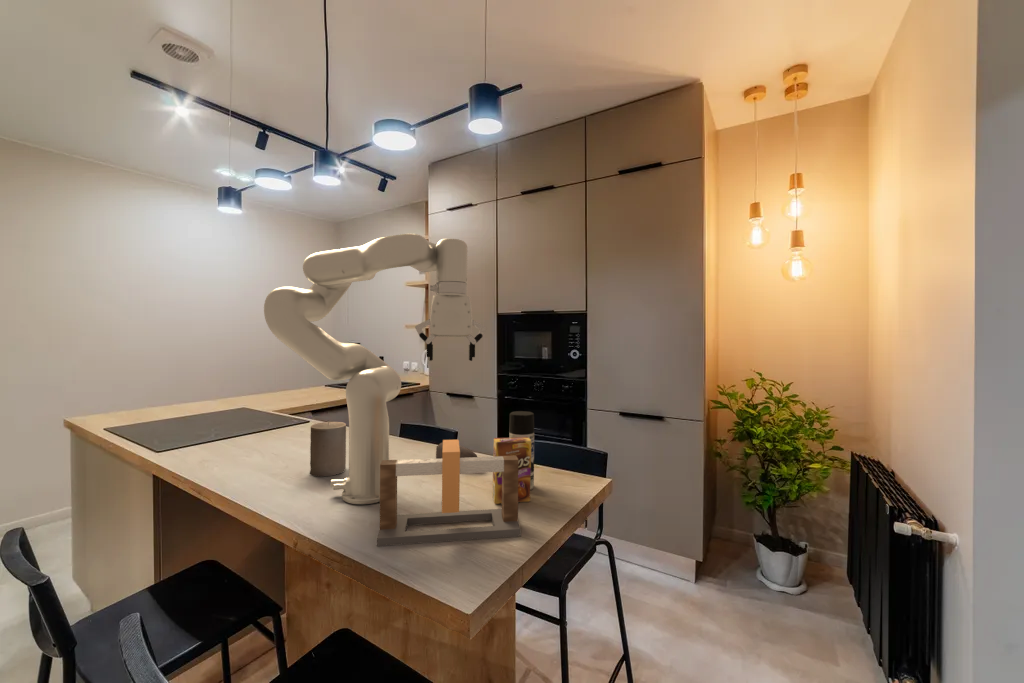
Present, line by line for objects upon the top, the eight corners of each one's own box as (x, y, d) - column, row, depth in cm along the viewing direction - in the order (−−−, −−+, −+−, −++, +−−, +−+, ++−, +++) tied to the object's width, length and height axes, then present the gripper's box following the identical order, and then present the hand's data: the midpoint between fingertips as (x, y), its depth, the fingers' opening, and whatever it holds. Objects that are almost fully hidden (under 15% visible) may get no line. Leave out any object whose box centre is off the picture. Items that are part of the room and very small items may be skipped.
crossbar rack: (376, 546, 78) (377, 470, 77) (384, 522, 87) (384, 455, 87) (520, 536, 82) (521, 464, 82) (512, 514, 92) (513, 450, 92)
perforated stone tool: (483, 470, 123) (483, 447, 122) (473, 475, 118) (473, 451, 118) (445, 461, 130) (445, 439, 130) (434, 465, 126) (434, 443, 126)
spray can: (531, 493, 105) (532, 415, 104) (506, 490, 106) (507, 414, 106) (535, 484, 111) (536, 411, 111) (511, 482, 112) (512, 410, 112)
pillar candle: (302, 474, 117) (302, 422, 116) (328, 464, 126) (328, 416, 126) (328, 478, 113) (328, 425, 113) (353, 468, 122) (353, 418, 122)
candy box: (495, 505, 97) (495, 441, 97) (491, 498, 101) (492, 437, 101) (530, 502, 99) (531, 440, 99) (526, 495, 103) (527, 435, 103)
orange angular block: (459, 512, 80) (459, 451, 80) (441, 513, 80) (442, 452, 80) (458, 493, 90) (458, 439, 89) (442, 494, 89) (443, 439, 89)
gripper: (414, 288, 95) (413, 361, 95) (488, 290, 98) (487, 361, 98) (416, 291, 102) (416, 359, 102) (485, 293, 105) (484, 359, 105)
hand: (450, 360), depth 100 cm, fingers open, 9 cm apart
